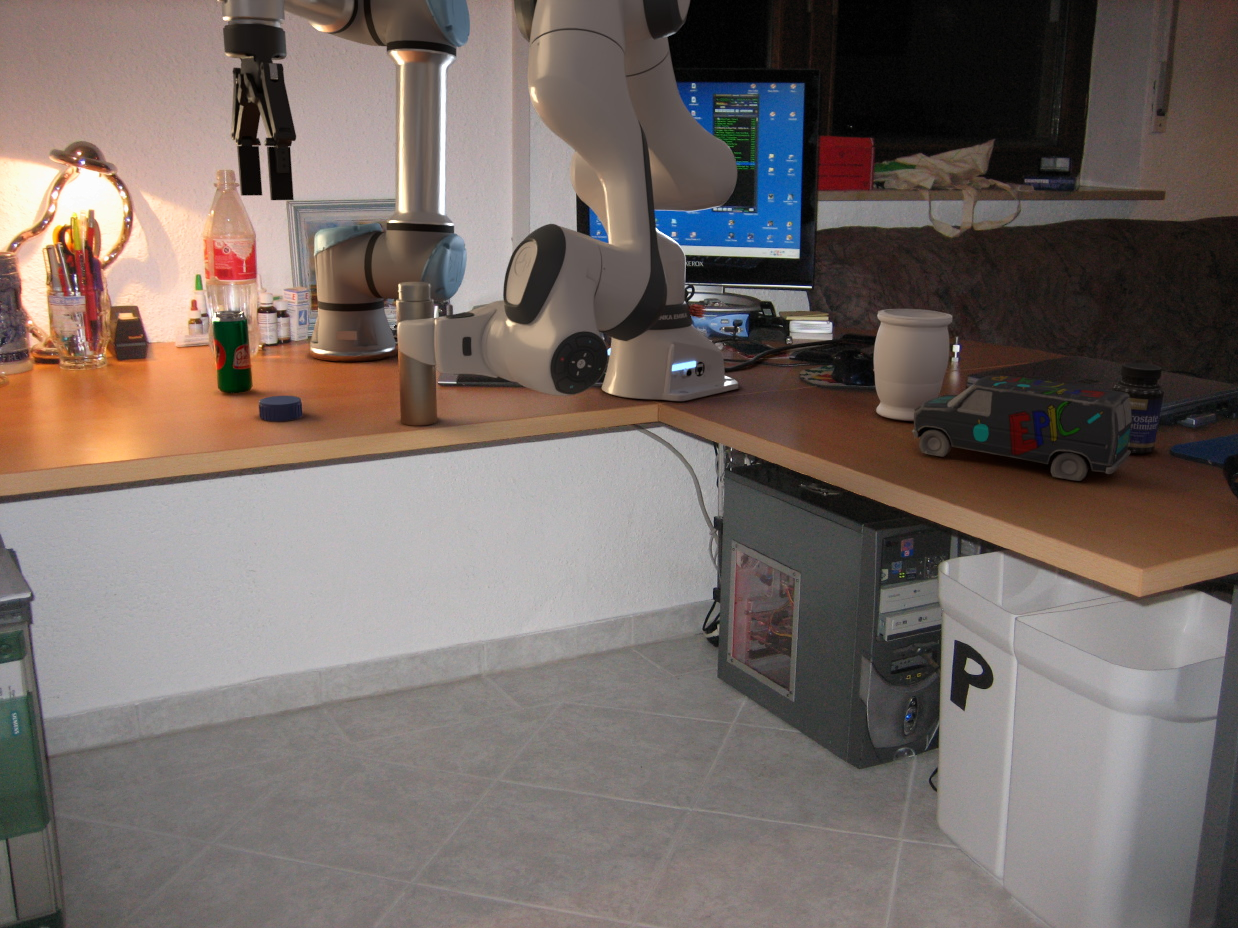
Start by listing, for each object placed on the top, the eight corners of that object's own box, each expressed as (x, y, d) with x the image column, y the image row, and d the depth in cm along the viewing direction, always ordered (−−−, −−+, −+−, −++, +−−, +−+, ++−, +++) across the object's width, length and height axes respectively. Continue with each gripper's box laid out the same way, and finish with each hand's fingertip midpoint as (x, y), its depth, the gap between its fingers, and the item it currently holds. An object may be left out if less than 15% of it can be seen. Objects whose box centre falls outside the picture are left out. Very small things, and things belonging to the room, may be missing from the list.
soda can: (241, 395, 161) (235, 315, 157) (211, 393, 162) (204, 314, 158) (259, 388, 165) (253, 311, 162) (229, 386, 166) (223, 309, 163)
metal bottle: (416, 427, 145) (411, 286, 140) (393, 421, 148) (387, 283, 143) (444, 421, 149) (440, 283, 143) (421, 415, 152) (416, 280, 146)
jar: (854, 409, 159) (862, 309, 155) (910, 404, 163) (920, 306, 159) (898, 426, 150) (909, 320, 146) (957, 420, 154) (969, 317, 150)
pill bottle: (1117, 454, 138) (1130, 370, 135) (1094, 442, 144) (1106, 361, 140) (1163, 454, 138) (1177, 370, 135) (1139, 442, 144) (1152, 361, 141)
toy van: (934, 435, 146) (942, 362, 143) (1130, 468, 132) (1143, 388, 129) (905, 451, 137) (912, 375, 134) (1110, 488, 123) (1124, 404, 121)
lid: (284, 409, 153) (283, 393, 153) (311, 415, 150) (310, 399, 150) (250, 417, 149) (249, 400, 148) (278, 423, 146) (276, 406, 145)
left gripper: (198, 30, 143) (212, 193, 149) (252, 13, 123) (265, 202, 129) (255, 35, 147) (266, 193, 153) (315, 19, 127) (326, 202, 133)
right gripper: (581, 305, 130) (524, 291, 140) (427, 320, 118) (377, 304, 129) (581, 357, 131) (525, 339, 142) (429, 376, 120) (380, 355, 131)
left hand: (266, 198), depth 141 cm, fingers open, 13 cm apart
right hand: (453, 322), depth 136 cm, fingers open, 8 cm apart
